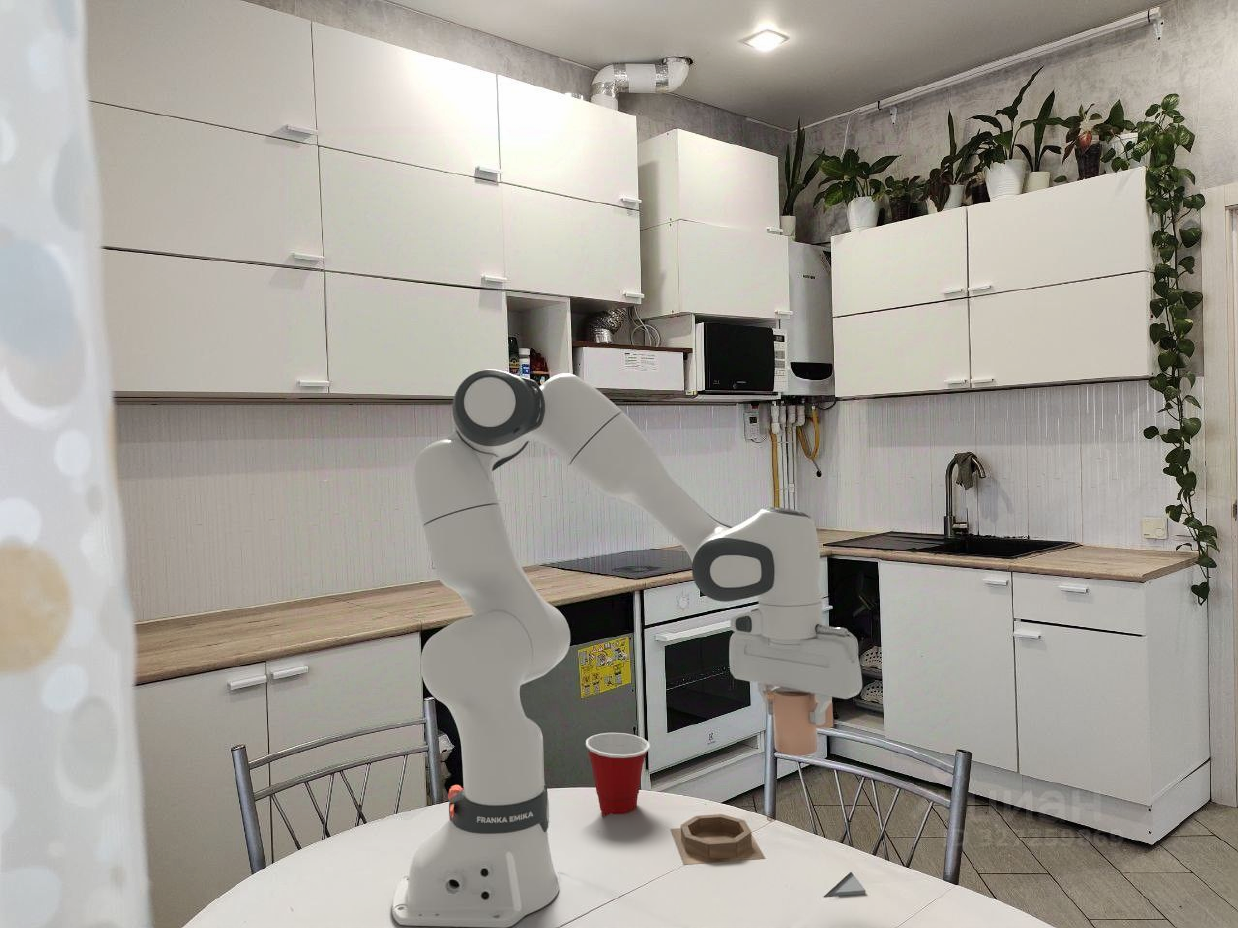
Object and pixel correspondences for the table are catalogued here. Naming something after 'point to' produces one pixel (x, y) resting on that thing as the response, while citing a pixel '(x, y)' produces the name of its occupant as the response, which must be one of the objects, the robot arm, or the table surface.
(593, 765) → the plastic cup
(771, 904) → the table surface
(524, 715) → the robot arm
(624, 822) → the table surface
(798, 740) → the jug
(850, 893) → the slate mat
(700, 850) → the holder
